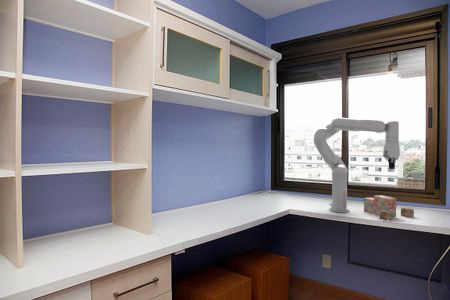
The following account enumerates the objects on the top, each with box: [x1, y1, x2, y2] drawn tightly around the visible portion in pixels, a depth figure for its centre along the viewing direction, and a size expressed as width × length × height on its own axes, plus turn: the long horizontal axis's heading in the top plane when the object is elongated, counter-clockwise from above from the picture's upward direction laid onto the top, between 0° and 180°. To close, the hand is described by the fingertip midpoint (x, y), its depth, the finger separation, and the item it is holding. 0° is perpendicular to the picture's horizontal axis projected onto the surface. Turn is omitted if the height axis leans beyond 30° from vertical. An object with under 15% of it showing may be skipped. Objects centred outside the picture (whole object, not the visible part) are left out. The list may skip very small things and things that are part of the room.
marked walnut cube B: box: [400, 207, 415, 218], centre depth 188 cm, size 5×5×5 cm
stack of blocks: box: [363, 194, 397, 219], centre depth 194 cm, size 21×6×12 cm, turn 16°
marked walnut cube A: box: [379, 210, 393, 221], centre depth 180 cm, size 5×5×5 cm
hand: (391, 168), depth 191 cm, fingers closed
